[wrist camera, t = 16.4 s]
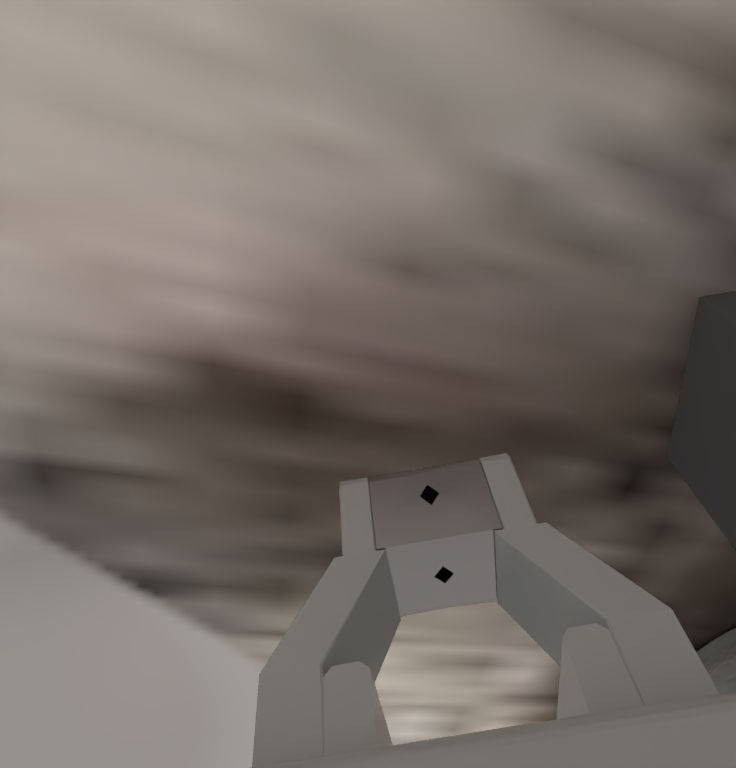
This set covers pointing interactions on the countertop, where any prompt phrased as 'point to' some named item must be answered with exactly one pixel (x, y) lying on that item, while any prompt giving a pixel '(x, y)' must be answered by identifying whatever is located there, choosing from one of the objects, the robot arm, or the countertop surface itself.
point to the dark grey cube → (710, 412)
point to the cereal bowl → (721, 661)
